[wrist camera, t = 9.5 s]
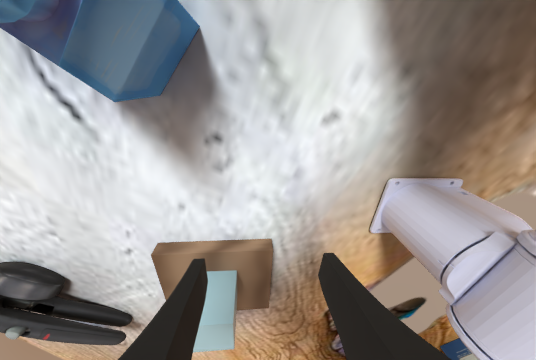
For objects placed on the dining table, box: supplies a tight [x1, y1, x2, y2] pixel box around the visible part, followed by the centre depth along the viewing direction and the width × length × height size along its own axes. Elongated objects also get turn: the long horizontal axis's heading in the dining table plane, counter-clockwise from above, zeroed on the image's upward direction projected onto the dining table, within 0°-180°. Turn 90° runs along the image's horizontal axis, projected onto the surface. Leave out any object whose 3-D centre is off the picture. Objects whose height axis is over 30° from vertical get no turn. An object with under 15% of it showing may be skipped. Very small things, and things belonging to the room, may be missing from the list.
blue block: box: [193, 270, 237, 352], centre depth 22 cm, size 5×5×6 cm
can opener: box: [0, 262, 132, 345], centre depth 24 cm, size 18×7×6 cm, turn 39°
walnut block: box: [151, 239, 273, 310], centre depth 26 cm, size 14×12×2 cm
